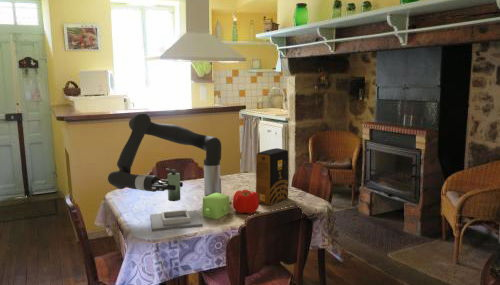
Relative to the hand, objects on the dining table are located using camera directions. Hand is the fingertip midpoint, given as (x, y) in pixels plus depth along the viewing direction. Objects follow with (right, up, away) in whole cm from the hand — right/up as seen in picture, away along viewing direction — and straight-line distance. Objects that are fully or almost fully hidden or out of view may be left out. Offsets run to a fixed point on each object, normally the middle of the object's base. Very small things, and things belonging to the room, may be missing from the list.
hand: (178, 186), depth 185 cm
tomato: (+31, -15, +16) cm, 38 cm away
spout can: (-2, -6, +2) cm, 7 cm away
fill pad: (-2, -17, +3) cm, 17 cm away
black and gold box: (+45, -12, +35) cm, 58 cm away
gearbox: (+16, -16, +11) cm, 25 cm away
